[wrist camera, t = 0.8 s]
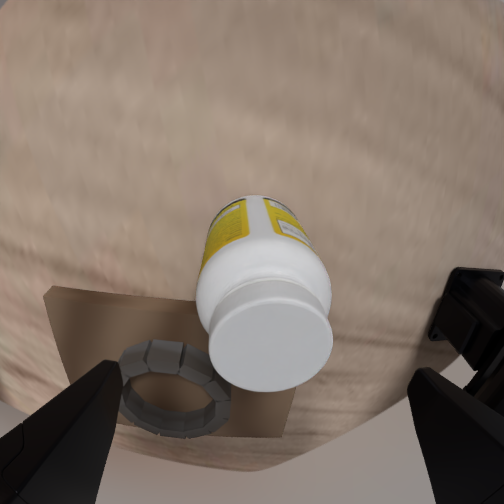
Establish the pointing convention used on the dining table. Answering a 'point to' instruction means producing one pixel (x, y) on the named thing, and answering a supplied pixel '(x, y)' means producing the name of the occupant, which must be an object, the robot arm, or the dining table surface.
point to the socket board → (159, 365)
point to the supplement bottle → (263, 297)
